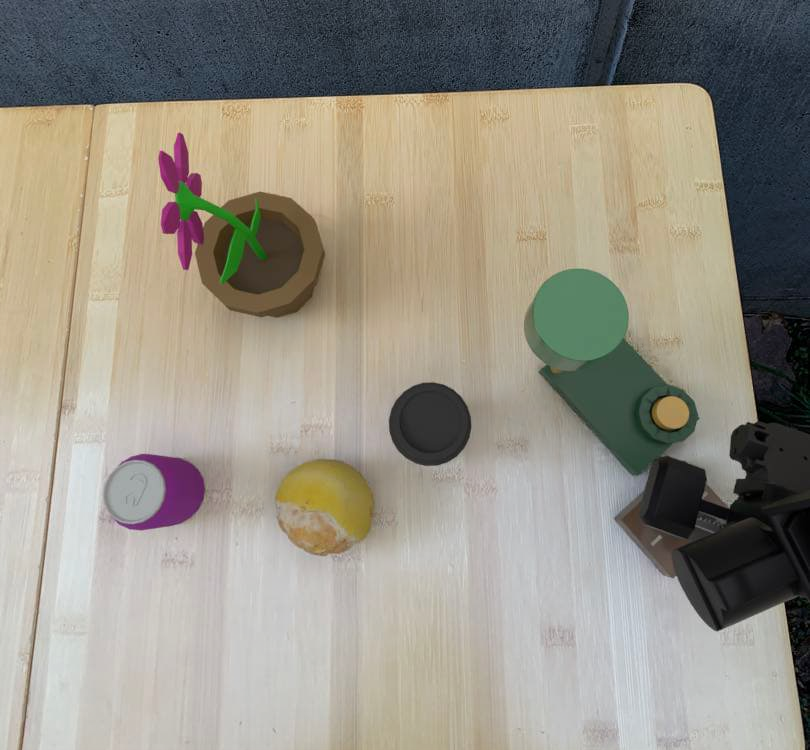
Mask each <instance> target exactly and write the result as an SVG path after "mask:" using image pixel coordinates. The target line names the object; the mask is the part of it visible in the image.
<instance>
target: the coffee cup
mask: <svg viewBox="0 0 810 750" xmlns="http://www.w3.org/2000/svg"><path fill="white" fill-rule="evenodd" d="M388 432H389V435H390V439H391V442H392V443H393V445H394V446H395V449H396V450H397V451H398V452H399V453H400V454H401V456H403V457H404V458H405V459H407V460H408V461H410V462H412V463H413V464H416V465H421V466H424V467H435V466H441V465H444V464H447V463H450V462H451V461H453V460H454V459H456V458H457V457H459V455H460V454H461V453H462V452H463V451H464V449H465V448H466V446H467V444H468V442H469V440H470V437H471V433H472V416H471V412H470V410H469V407H468V405H467V403H466V401H465V400H464V399H463V397H462V396H461V395H460V394H459V393H458V392H457V391H456V390H455V389H454V388H451V387H449V386H447V384H446V385H445V384H443V383H440V382H439V383H438V382H434V381H433V382H421V383H418V384H415V385H412V386H410V387H409V388H408V389H407V388H406V390H404V391H403V392H402V393H401V394H400V395H399V396H398V397H397V398H396V399H395V402H394V403H393V405H392V406H391V409H390V413H389V417H388Z"/></svg>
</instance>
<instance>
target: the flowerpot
mask: <svg viewBox="0 0 810 750" xmlns="http://www.w3.org/2000/svg"><path fill="white" fill-rule="evenodd" d="M185 139H186V138H185V136H184V134H183V133H181V132H177V134H176V138H175V142H174V145H173V157H172V155H170V154H169V153H167V152H166V151H164V150H159V152H158V157H157V159H158V167H159V173H160V178H161V181H162V182H163V184H164V186H165V189H166V190H167V192H170V193H173V194H174V200H175V201H168V202H167V203H166V204H165V205H164V207H163V208H162V209H161V217H160V227H161V231H162V234H164V235H175V234H176V238H177V239H176V240H177V241H176V242H177V243H176V244H177V254H178V255H177V256H178V258H179V261H180V265H181V268H182V270H184V271H189V269H190V265H191V261H192V259H193V258H192V257H193V243H195V244H196V248H195V251H194V255H195V259H196V264H197V268H198V269H197V270H198V273H199V277H200V281H201V284H202V285H203V286H204V287H205V288H206V289H207V290H208V291H209V292H210V293H211V294H213V296H214V297H215V298H217V300H219V301H220V302H221V304H223V306H225V307H226V308H227V309H228V310H229V311H232V312H235V313H239V314H245V315H249V316H253V317H258V318H264V317H271V318H280V317H284V316H287V315H290V314H293V313H297V312H298V311H299V310H300V309H301V308H302V307H303V306H305V304H306V303H308V301H310V300H311V298H312V297H313V296H314V291H315V287H316V286H317V285H318V282H319V279H320V275H321V271H322V268H323V264H324V260H325V257H326V251H325V249H324V245H323V242H322V238H321V235H320V231H319V228H318V225H317V222H316V219H315V218H314V217H313V216H312V215H311V214H310V213H309V212H308V211H306V210H305V209H304V208H303V207H302V206H301V205H300V204H298V202H297V201H295V200H294V199H293V198H292V197H288V196H284V195H279V194H274V193H269V192H264V191H257V192H253V193H250V194H246V195H242V196H239V197H236V198H232V199H229V200H227V201H226V202H225V203H223V205H222V206H221V207H220V206H219V205H216V204H215V203H212V202H211V201H209V200H207V199H204V198H202V194H203V193H202V191H203V181H202V177H201V174H199V173H198V172H191V173H190V160H189V157H190V156H189V149H188V147H187V143H186V140H185ZM196 210H198V211H205V212H206V213H208V214H211V216H210V217H209V218H208V219H207V220H205V222H204V224H203V221H202V219H201V217H200V215H199V213H198V211H196Z"/></svg>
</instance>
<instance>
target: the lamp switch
mask: <svg viewBox="0 0 810 750" xmlns="http://www.w3.org/2000/svg"><path fill="white" fill-rule="evenodd" d="M652 418H653V420H654V422H655V423H656V424H657V425H658V426H659V427H660V428H662V429H665V430H673V429H677V428H680V427H682V426H684V425H685V424H686V423H687V421H688V419H689V409H688V407H687V405H686V403H685V402H684V401H683V400H681V399H680V398H678V397H674V396H668V397H665V398H662V399H660V400H658V401H657V402H656V403H655V404H654V405H653V408H652Z"/></svg>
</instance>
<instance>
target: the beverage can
mask: <svg viewBox="0 0 810 750" xmlns="http://www.w3.org/2000/svg"><path fill="white" fill-rule="evenodd" d="M205 490H206V487H205V480H204V477H203V475H202V473H201V472H200V470H199V468H198V467H196V466H195V465H194V464H193V462H190V461H188V460H186V459H184V458H182V457H174V456H167V455H159V454H151V453H140V454H136V455H132V456H130V457H128V458H126V459H125V460H123V461H121V462H120V463H119V464H118V465H117V466H116V467H115V468H114V469H113V470H112V471H111V472H110V473H109V474H108V476H107V478H106V480H105V481H104V484H103V489H102V501H103V503H102V504H103V505H104V507H105V510H106V512H107V514H109V516H110V517H111V518H112V519H113V520H114V521H115V522H116V523H117V524H118V526H119V525H120V526H122V527H124V528H126V529H127V530H133V531H146V530H147V531H148V530H154V529H160V528H167V527H172V526H176V525H181V524H182V523H184V522H187V521H188V520H189V519H191V518H192V517H193V516H194V515H195V514H196V513H197V512H198V511H199V510H200V507H201V505H202V503H203V502H204V497H205Z"/></svg>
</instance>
